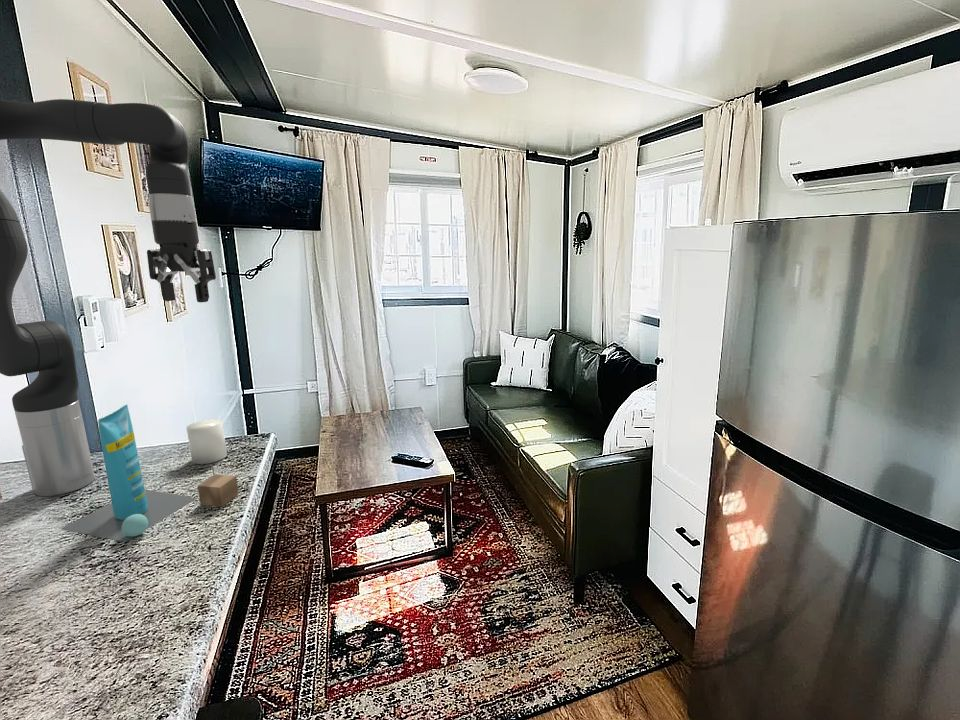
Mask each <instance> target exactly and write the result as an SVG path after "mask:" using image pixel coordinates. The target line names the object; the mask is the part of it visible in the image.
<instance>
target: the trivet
mask: <svg viewBox="0 0 960 720" xmlns="http://www.w3.org/2000/svg"><path fill="white" fill-rule="evenodd" d="M144 489H145V488H144ZM145 494H146V498H147V504H148V509H147V511H146V512H145V513H143V514H141V515H144V516H145V517H146V518H147V520H148V527H147V529H146V530H148V529H149V528H151V527H152V526H154V525H157V524H158V523H159V522H161V521H162V520H164V519H166V518H168V517H169V516H171V515H173V514H174V513H176V512H177V511H179V510H181V509H183V508H184V507H186V506H188V505H189V504H190V503H192V502H194V501H196V500H197V499H198V497H192V496H188V495H187V496H186V495H180V494H175V493H171V492H170V493H169V492H164V491H156V490H152V489H151V490H150V489H145ZM124 520H125V519H124ZM124 520H120V519H116V518H115V517H114V512H113V506H112V502H110V503H109V504H107V505H105V506H103V507H101V508H99V509H97V510H95V511H94V512H92V513H89V514H88V515H86V516H83V517H82V518H79V519H78V520H75V521H73V522H72V523H70V524H68V525H66V526H64V527H61V530H65V531H68V532H74V533H79V534H82V535H83V534H84V535H89V536H94V537H98V538H103V539H108V540H113V541H119V542H123V543H127V542H128V541H130V540H131V539H133V538H134V537H131V536H127V535H125V534H124V533H123V531H122V524H123V522H124Z"/></svg>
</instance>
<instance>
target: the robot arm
mask: <svg viewBox="0 0 960 720" xmlns="http://www.w3.org/2000/svg"><path fill="white" fill-rule="evenodd" d="M1 140H3V141H4V140H49V141H52V140H53V141H64V142H76V143H84V144H97V145H108V146H121V145H124V144H126V143H127V144H128V143H129V144H141V145H147V146H148V148H149V160H150V161H149V163H148V164H146V166H145V178H146V179H145V180H146V185H147V191H148V200H149V201H148V209H149V213H150V219H151V227H152V233H153V238H154V243H156V244H157V245H159V249H147V251H146V255H147V256H146V258H147V265H148V274H149V278H150V279H151V280H155V281H157V283H158V284H159V285H160V290H161V291H160V292H161V296H162V300H163V301H164V302H174V301H176V294H175V286H174V282H173V280H174V277H175V276H176V275H177V274H178V273H179V272H181V273H182V272H184V273H186V275H188V276H190V278H191V279H192V280H193V281H194V290H195V297H196V301H197V303H207V302H208V301H209V299H210V293H209V285H208V284H209V282H211V281H215V280H216V279H217V276H216V271H215V264H214V260H213V254H212V251H211V250H210V249H198V248H197V244H199V243H200V240H199V232H198V226H197V225H198V224H197V218H196V210H195V206H194V203H193V198H192V192H191V186H190V185H191V184H190V179H189V175H188V170H189V169H188V168H189V140H188V136H187V131H186V129H185V127H184V125H183V124H182V123H181V121H180V120H178V118H177V117H175V116H174V115H172V114H171V113H170V112H169V111H168V110H166V109H164V108H162V107H160V106H157V105H154V104H150V103H142V102H127V103H126V102H124V103H123V102H121V103H118V102H117V103H111V104H110V103H104V102H97V101H91V100H82V99H81V100H80V99H68V98H67V99H65V98H64V99H63V98H58V99H56V98H55V99H47V100H42V101H41V100H40V101H33V102H30V101H29V102H27V101H26V102H23V101H22V102H20V101H13V100H12V101H11V100H7V99H2V98H0V141H1ZM28 248H29V247H28V243H27V240H26V236H25V234H24V231H23V228H22V224H21V222H20V218H19V216H18V214H17V212H16V210H15V208H14V206H13V205H12V203H11V202H10V200H9V199H8V197H6V194H4V193H3V191H2V190H1V189H0V374H1V375H3V376H5V377H16V376H21V375H22V376H23V375H28V374H33V373H37V372H38V374H37V376H36V377H35V379H34V380H33V381H31V383H29V384H28V385H27V386H25V387H24V388H22V389H20V390H18V391H17V392H16V393H14V394H13V395H12V398H11V401H12V406H13V410H14V414H15V419H16V422H17V425H18V429H19V434H20V438H21V442H22V445H21V449H22V452H23V456H24V457H23V458H24V462H25V465H26V469H27V473H28V474H27V475H28V477H29V481H30V484H31V485H30V486H31V490H33V491H34V494H35V495H36V496H39V497H51V496H52V497H54V496H59V495H63V494H68V493H71V492H74V491H77V490H79V489H82V488H84V487H86V486H88V485H89V484H92V482H93V481H94V480H95V479H96V478H95V473H94V472H95V470H94V467H93V466H94V465H93V461H92V458H91V456H92V455H91V452H90V447H89V442H88V438H87V434H86V429H85V423H84V419H83V415H82V409H81V406H80V401H79V396H78V390H79V378H78V372H77V365H76V356H75V350H74V344H73V342H72V338H71V335H70V334H69V332H68V330H67V329H66V328H65V327H64V326H63V325H62V324H61V323H59V322H57V321H54V320H41V321H39V320H38V321H33V322H32V321H31V322H24V323H23V322H22V323H16V322H17V321H16V319H15V315H14V310H13V309H14V308H13V303H12V302H13V293H14V289H15V287H16V284H17V282H18V280H19V277H20V275H21V273H22V271H23V268H24V266H25V264H26V260H27V258H28V251H29V249H28ZM156 268H157V270H156Z"/></svg>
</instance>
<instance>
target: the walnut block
mask: <svg viewBox="0 0 960 720" xmlns="http://www.w3.org/2000/svg"><path fill="white" fill-rule="evenodd" d="M197 490H198V497H199V504H200V505H201V506H202V505H203V506H213V507H224V506H225V505H227V504H228V503H229V502H230V501H232V500H233V499H234V498H236V497H237V496H238V495H239V488H238V480H237V475H227V474H216V473H215V474H213V475H212V476H210V477H208V478H207V479H206V480H204V481H202V482H201V483H200V484H198V485H197Z"/></svg>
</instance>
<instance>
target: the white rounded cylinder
mask: <svg viewBox="0 0 960 720" xmlns="http://www.w3.org/2000/svg"><path fill="white" fill-rule="evenodd" d="M223 425H224V424H223V420H221V419H214V418H212V419H204V420H199V421H195V422H192V423H190V424H188V425H187V426H186V433H187V439H188V443H189V450H190V457H191V462H192V463H193V464H196V465H204V464H205V465H207V464H212V463H216V462H218V461H220V460H221V461H222V460H223V459H224V458H226V457H227V456H228V451H227V445H226V444H227V443H226V437H225V431H224V426H223Z"/></svg>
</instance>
